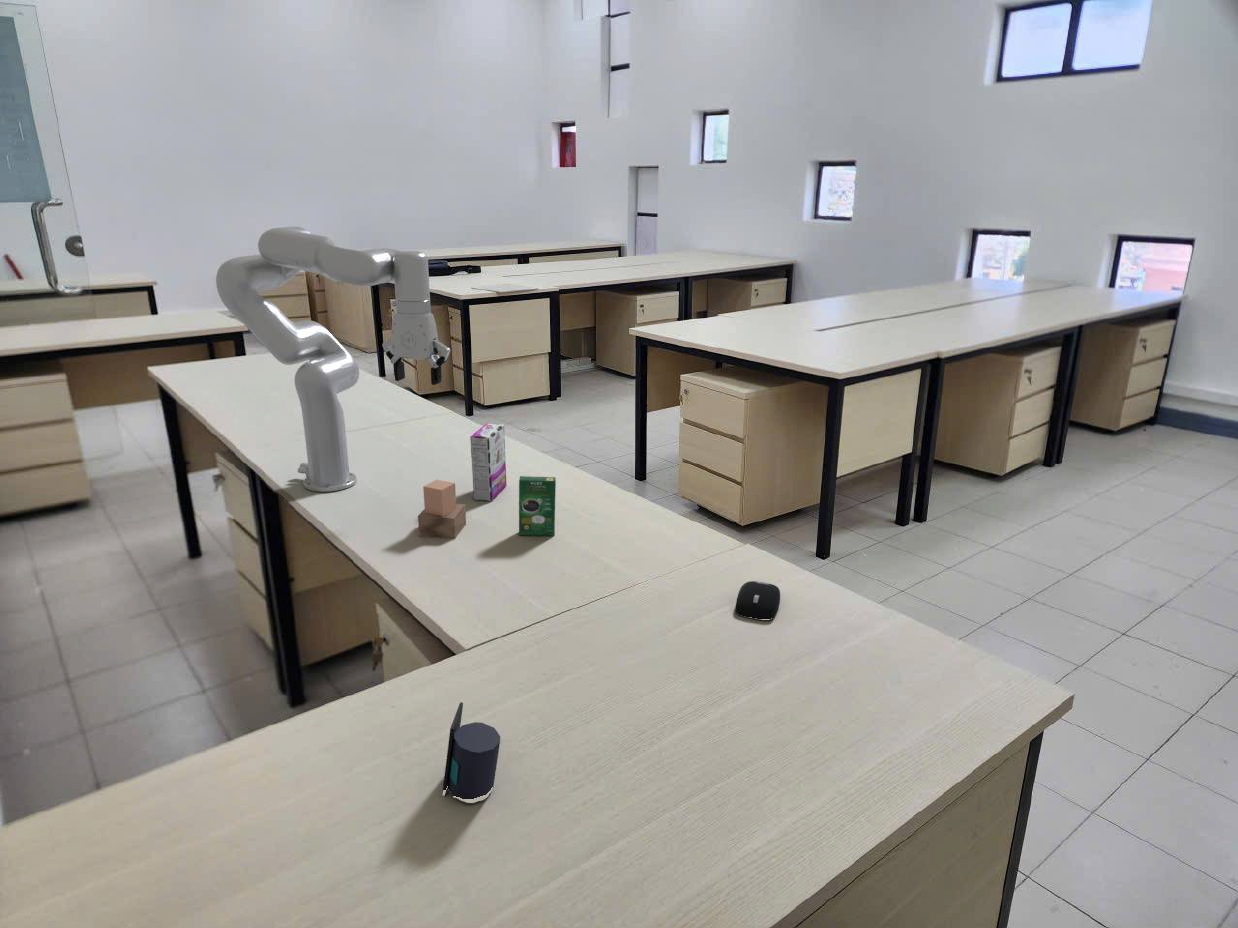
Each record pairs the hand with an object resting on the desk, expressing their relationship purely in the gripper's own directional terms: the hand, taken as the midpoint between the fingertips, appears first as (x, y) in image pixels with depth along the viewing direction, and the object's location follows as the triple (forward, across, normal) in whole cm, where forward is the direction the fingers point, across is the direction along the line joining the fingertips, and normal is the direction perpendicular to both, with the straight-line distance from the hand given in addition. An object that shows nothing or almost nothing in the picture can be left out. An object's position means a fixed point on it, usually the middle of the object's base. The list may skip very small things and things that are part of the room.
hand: (418, 381), depth 190 cm
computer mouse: (+29, +86, -25) cm, 94 cm away
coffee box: (+28, +35, -11) cm, 46 cm away
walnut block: (+29, +15, -17) cm, 36 cm away
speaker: (+28, +60, -86) cm, 109 cm away
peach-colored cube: (+24, +15, -17) cm, 33 cm away
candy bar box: (+28, +14, +7) cm, 33 cm away
